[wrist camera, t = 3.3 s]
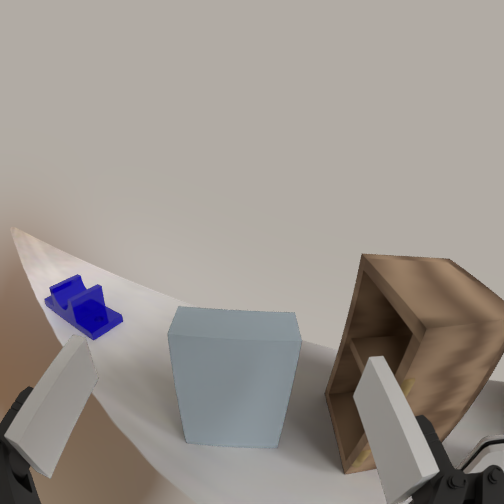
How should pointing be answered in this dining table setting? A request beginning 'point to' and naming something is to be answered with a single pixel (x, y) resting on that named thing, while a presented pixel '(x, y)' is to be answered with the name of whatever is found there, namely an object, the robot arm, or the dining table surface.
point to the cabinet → (415, 344)
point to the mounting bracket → (82, 307)
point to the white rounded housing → (484, 455)
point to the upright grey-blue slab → (233, 374)
